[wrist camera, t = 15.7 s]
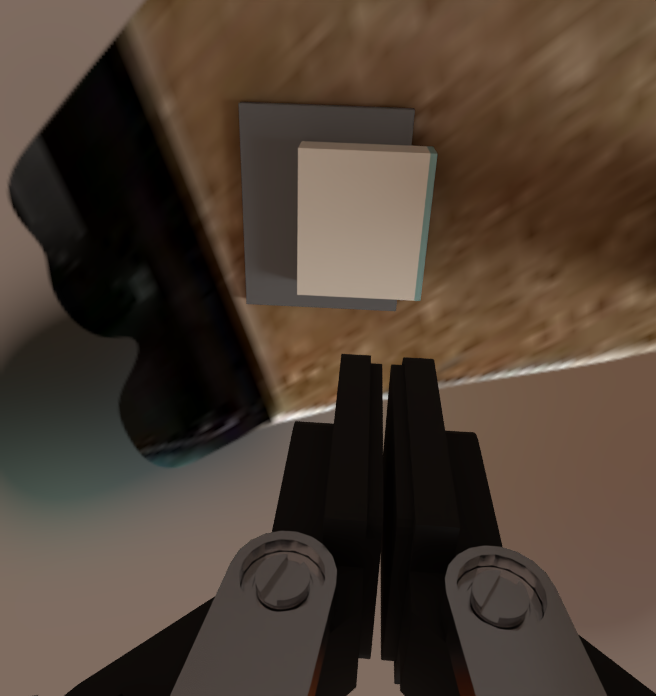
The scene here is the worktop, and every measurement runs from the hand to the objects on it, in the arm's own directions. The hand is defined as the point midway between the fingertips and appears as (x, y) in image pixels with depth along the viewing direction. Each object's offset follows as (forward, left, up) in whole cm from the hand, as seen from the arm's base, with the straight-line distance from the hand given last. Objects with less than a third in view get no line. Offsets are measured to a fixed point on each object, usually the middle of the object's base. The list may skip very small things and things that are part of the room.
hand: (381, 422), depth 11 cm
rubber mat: (+2, +2, -20) cm, 20 cm away
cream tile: (+3, +2, -19) cm, 19 cm away
